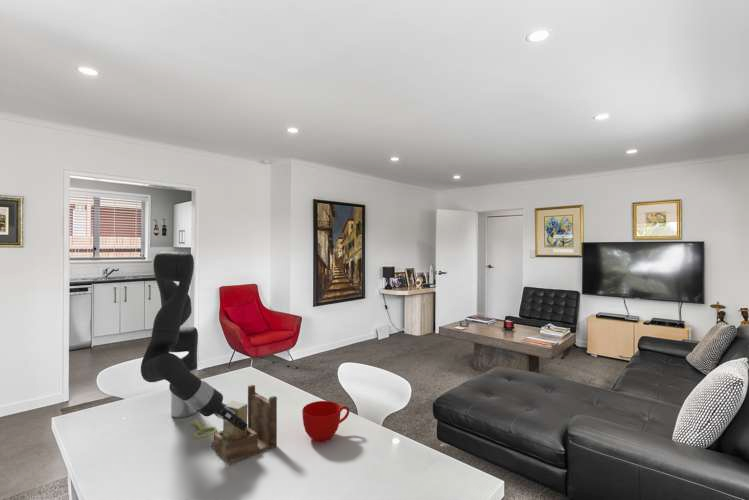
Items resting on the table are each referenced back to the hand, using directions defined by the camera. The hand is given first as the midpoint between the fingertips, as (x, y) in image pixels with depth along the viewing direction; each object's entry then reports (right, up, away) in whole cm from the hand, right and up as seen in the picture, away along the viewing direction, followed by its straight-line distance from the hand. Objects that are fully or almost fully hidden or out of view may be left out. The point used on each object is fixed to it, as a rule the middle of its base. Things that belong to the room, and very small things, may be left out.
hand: (239, 423), depth 124 cm
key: (-17, -8, +12) cm, 22 cm away
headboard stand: (+1, -8, +1) cm, 8 cm away
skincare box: (-1, -6, -1) cm, 6 cm away
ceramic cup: (+27, -8, +8) cm, 30 cm away
